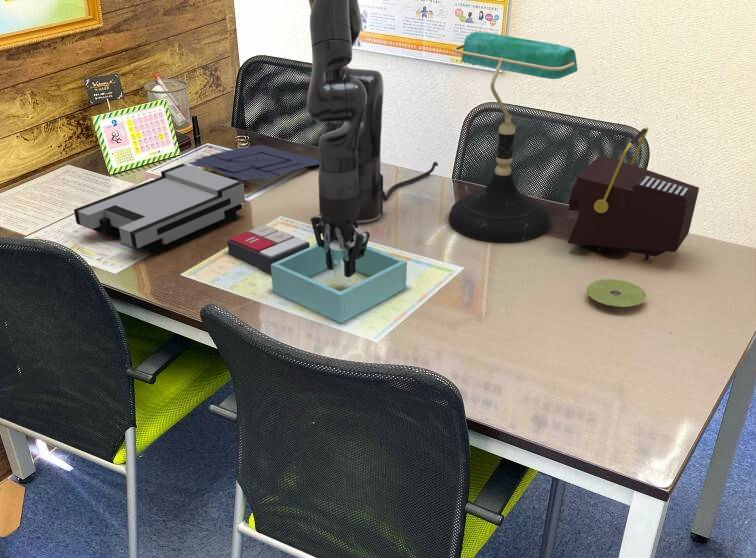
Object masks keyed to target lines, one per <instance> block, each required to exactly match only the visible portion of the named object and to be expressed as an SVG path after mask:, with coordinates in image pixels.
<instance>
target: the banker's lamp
mask: <svg viewBox="0 0 756 558" xmlns="http://www.w3.org/2000/svg"><path fill="white" fill-rule="evenodd" d="M461 49H462V50H461ZM453 52H454V53H456V54H460V55H461V60H460V61H461V62H462V63H465V64H469V65H475V66H481V67H485V68H490V69H495V71H494V72H493V75H492V78H491V81H490V91H491V92H492V95H493V97H494V98H495V100H496V102H497V104H498V106H499V107H500V109H501V111H502V112H503V114H504V122H502V123H501V124H500V125H499V127H498V141H497V153H496V154H497V155H496V156H495V157H496V158H495V162H496V164H497V165H496V167H495V169H494V171H493V174H492V176H491V178H490V180H489V182H488V184H487V185H486V186H485V188H484V189H483V190H479V191H474V192H472V193H469V194H468V195H465V196H463V197H460V199H458V200H457V201H456V202H455V203H454V204H452V206H451V208H450V212H449V216H448V223H449V225H450V226H451V228H453V229H454V230H455V231H456V232H457V233H460V234H462V235H463V236H466V237H469V238H471V239H475V240H479V241H483V242H489V243H490V242H492V243H517V242H524V241H528V240H529V241H530V240H533V239H535V238H537V237H539V236H541V235H543V234H544V233H546V231H548V228H549V224H550V222H549V221H550V220H549V214H548V211H547V209H546V208H545V207H544V206H543V204H541V203H540V202H539V201H538V200H535V199H534V198H532V197H531V196H529V195H527V194H525V193H521V192H520V191H519V189H518V188H517V186H516V183H515V180H514V176H513V173H512V167H511V166H510V165H511V164H512V163H513V157H514V156H513V150H514V140H515V134H516V125H514V123H512V117H513V116H512V114H511V113H509V112H508V110H507V108H506V106H505V104H504V103H503V101H502V100H501V98H500V96H499V94H498V92H497V91H496V88H495V87H496V86H495V83H496V82H497V81H496V80H497V78H498V75H499V73H500V71H506V72H511V73H517V74H521V75H526V76H531V77H532V76H533V77H536V78H543V79H548V80H560V79H561V78H565V77H567V76H570V75H572V74H574V73H576V72H578V61H577V56H576V55H577V54H576V51H575V49H573V48H572V47H569V46H566V45H562V44H557V43H550V42H546V41H539V40H533V39H527V38H521V37H515V36H509V35H503V34H497V33H492V32H491V33H490V32H485V31H473V32H471V33H470V34H467V35H466V36H465V38H464V42H463V44H460V45H458V46H455V47H454V48H453Z"/></svg>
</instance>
